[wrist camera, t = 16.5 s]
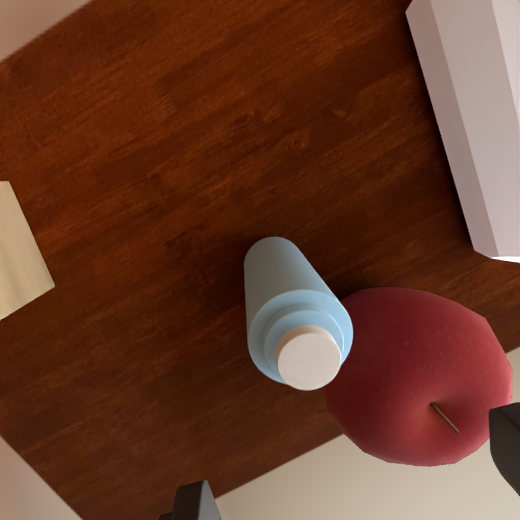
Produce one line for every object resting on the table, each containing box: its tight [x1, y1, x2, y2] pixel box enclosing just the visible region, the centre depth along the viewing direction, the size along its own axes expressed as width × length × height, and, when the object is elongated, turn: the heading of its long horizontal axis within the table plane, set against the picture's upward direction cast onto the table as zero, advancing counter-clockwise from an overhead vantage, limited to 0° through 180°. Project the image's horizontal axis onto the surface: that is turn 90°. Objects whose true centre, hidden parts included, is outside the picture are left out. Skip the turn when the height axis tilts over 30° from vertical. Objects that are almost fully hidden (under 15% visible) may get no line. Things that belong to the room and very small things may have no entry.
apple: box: [324, 287, 512, 467], centre depth 24 cm, size 12×12×13 cm
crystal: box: [406, 0, 520, 263], centre depth 24 cm, size 7×7×24 cm
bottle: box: [244, 237, 353, 390], centre depth 21 cm, size 5×5×15 cm
